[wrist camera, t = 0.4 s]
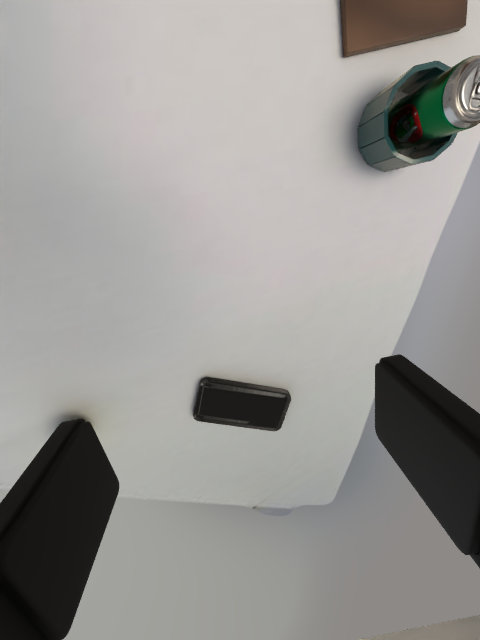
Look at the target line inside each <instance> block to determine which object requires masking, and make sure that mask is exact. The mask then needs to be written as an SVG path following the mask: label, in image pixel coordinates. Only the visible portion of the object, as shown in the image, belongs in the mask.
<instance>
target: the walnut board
mask: <svg viewBox="0 0 480 640" xmlns="http://www.w3.org/2000/svg"><path fill="white" fill-rule="evenodd" d="M467 1H468V0H340V2H341V19H342V37H343V54H344V57H348V56H352V55H357V54H361V53H365V52H370V51H374V50H378V49H382V48H387V47H391V46H395V45H400V44H404V43H408V42H412V41H417V40H421V39H425V38H430V37H434V36H438V35H442V34H447V33H451V32H455V31H459V30H460V29H461V28H463V27H464V26H465V25H466V15H467Z"/></svg>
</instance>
